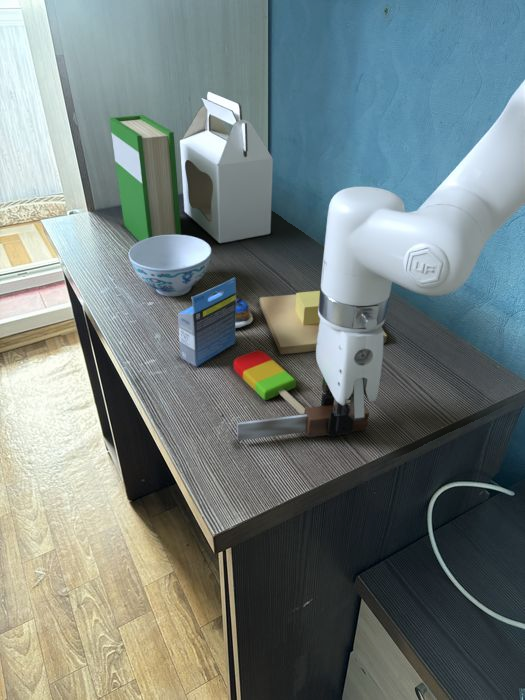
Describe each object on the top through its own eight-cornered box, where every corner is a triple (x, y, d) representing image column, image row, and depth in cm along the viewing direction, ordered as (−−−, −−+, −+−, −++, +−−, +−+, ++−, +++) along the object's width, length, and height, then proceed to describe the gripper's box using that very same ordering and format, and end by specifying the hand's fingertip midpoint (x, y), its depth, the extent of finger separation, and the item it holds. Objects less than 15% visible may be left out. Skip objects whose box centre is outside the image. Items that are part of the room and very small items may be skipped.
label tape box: (219, 335, 87) (217, 268, 79) (237, 344, 84) (236, 277, 77) (179, 358, 81) (173, 288, 74) (197, 368, 79) (192, 298, 72)
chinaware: (228, 286, 100) (228, 249, 96) (171, 317, 91) (167, 277, 86) (175, 263, 108) (172, 228, 104) (117, 289, 98) (111, 252, 94)
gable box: (183, 211, 132) (175, 90, 116) (230, 204, 137) (229, 87, 121) (220, 244, 116) (216, 109, 100) (271, 234, 122) (275, 104, 105)
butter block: (333, 306, 92) (335, 289, 90) (342, 321, 88) (344, 303, 86) (295, 310, 91) (296, 292, 89) (303, 325, 87) (304, 307, 85)
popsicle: (260, 357, 82) (260, 347, 81) (320, 411, 72) (322, 401, 71) (230, 368, 79) (230, 358, 78) (288, 426, 69) (289, 416, 68)
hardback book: (182, 246, 115) (173, 132, 101) (150, 253, 112) (137, 136, 98) (153, 220, 127) (142, 114, 113) (124, 225, 124) (109, 117, 110)
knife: (359, 417, 70) (362, 400, 68) (366, 429, 68) (369, 412, 66) (235, 433, 67) (235, 415, 65) (238, 446, 65) (239, 429, 63)
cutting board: (352, 296, 98) (353, 289, 98) (385, 343, 86) (387, 335, 85) (259, 304, 95) (259, 297, 94) (280, 354, 82) (280, 347, 82)
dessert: (263, 312, 91) (250, 295, 86) (246, 344, 90) (231, 329, 85) (228, 301, 95) (214, 284, 90) (211, 331, 94) (195, 316, 89)
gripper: (416, 340, 52) (386, 466, 62) (358, 268, 64) (341, 383, 75) (345, 348, 50) (327, 475, 61) (300, 273, 63) (292, 389, 74)
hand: (335, 423), depth 68 cm, fingers closed on knife, 2 cm apart
